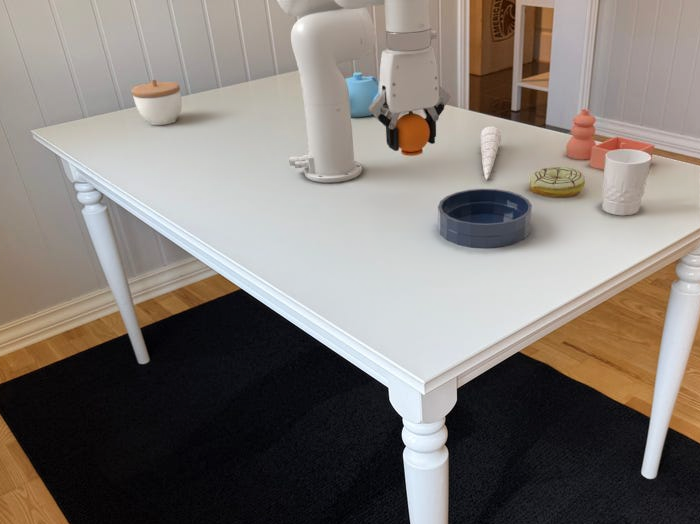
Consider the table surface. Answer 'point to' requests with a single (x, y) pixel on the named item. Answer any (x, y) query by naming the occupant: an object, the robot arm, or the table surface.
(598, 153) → the pottery
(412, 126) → the orange
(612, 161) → the white cup
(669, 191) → the table surface
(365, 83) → the teapot
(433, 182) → the table surface
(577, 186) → the decorated donut
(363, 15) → the robot arm
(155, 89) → the lidded bowl
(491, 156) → the unicorn horn
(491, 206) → the blue bowl
